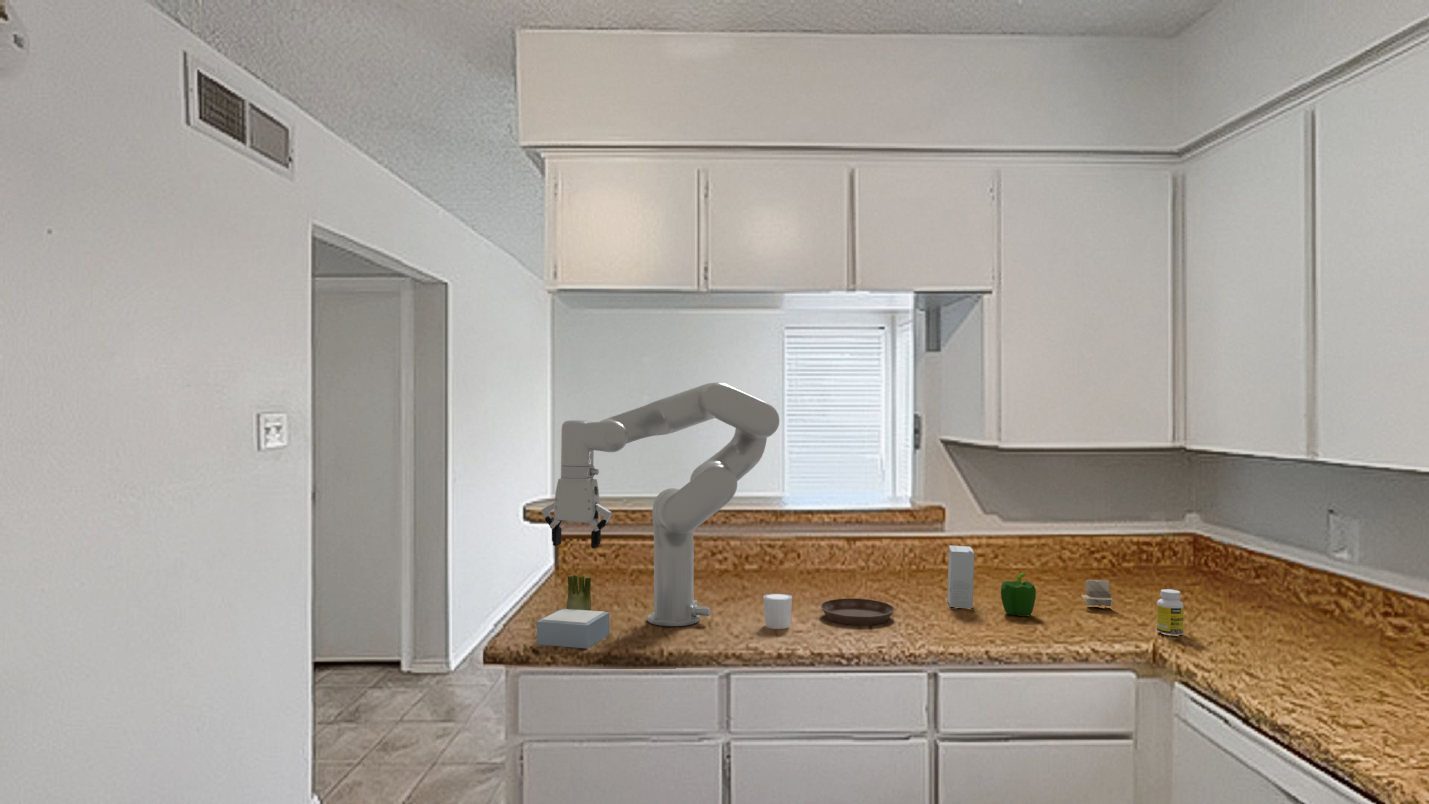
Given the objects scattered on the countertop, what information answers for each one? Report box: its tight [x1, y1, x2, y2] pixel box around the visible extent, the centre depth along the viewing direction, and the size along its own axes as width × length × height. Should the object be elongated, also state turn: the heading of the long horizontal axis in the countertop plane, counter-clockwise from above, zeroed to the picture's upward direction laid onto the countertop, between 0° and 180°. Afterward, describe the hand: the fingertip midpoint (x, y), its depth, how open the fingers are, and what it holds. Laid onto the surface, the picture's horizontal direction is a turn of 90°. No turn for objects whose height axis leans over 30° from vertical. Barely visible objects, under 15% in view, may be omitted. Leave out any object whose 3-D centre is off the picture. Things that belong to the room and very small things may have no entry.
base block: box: [536, 608, 610, 649], centre depth 202 cm, size 12×12×5 cm
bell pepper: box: [1000, 572, 1037, 617], centre depth 225 cm, size 8×8×10 cm
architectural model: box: [1081, 579, 1114, 608], centre depth 231 cm, size 3×7×7 cm, turn 81°
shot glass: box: [762, 593, 793, 630], centre depth 214 cm, size 7×7×7 cm
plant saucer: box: [820, 597, 895, 626], centre depth 222 cm, size 18×18×3 cm
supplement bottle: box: [1156, 588, 1185, 635], centre depth 207 cm, size 5×5×10 cm
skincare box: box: [947, 545, 975, 609], centre depth 235 cm, size 8×6×15 cm
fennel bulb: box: [565, 574, 592, 611], centre depth 214 cm, size 6×5×12 cm
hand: (575, 546), depth 214 cm, fingers open, 9 cm apart
